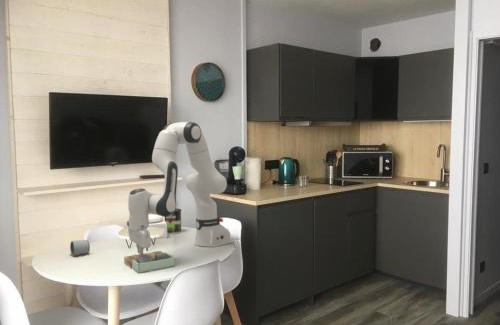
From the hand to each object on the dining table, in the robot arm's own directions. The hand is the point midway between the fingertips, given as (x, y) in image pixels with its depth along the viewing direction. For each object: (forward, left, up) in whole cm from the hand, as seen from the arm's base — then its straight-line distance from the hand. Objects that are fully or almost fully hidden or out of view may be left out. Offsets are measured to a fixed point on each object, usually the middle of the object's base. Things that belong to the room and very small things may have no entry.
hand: (140, 253), depth 201 cm
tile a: (-7, +6, -2) cm, 10 cm away
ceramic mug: (+20, -37, -6) cm, 42 cm away
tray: (-3, +7, -5) cm, 10 cm away
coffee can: (-40, -54, -6) cm, 67 cm away
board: (-3, -2, -5) cm, 7 cm away
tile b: (+1, +6, -4) cm, 7 cm away
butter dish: (-25, -53, -6) cm, 59 cm away
